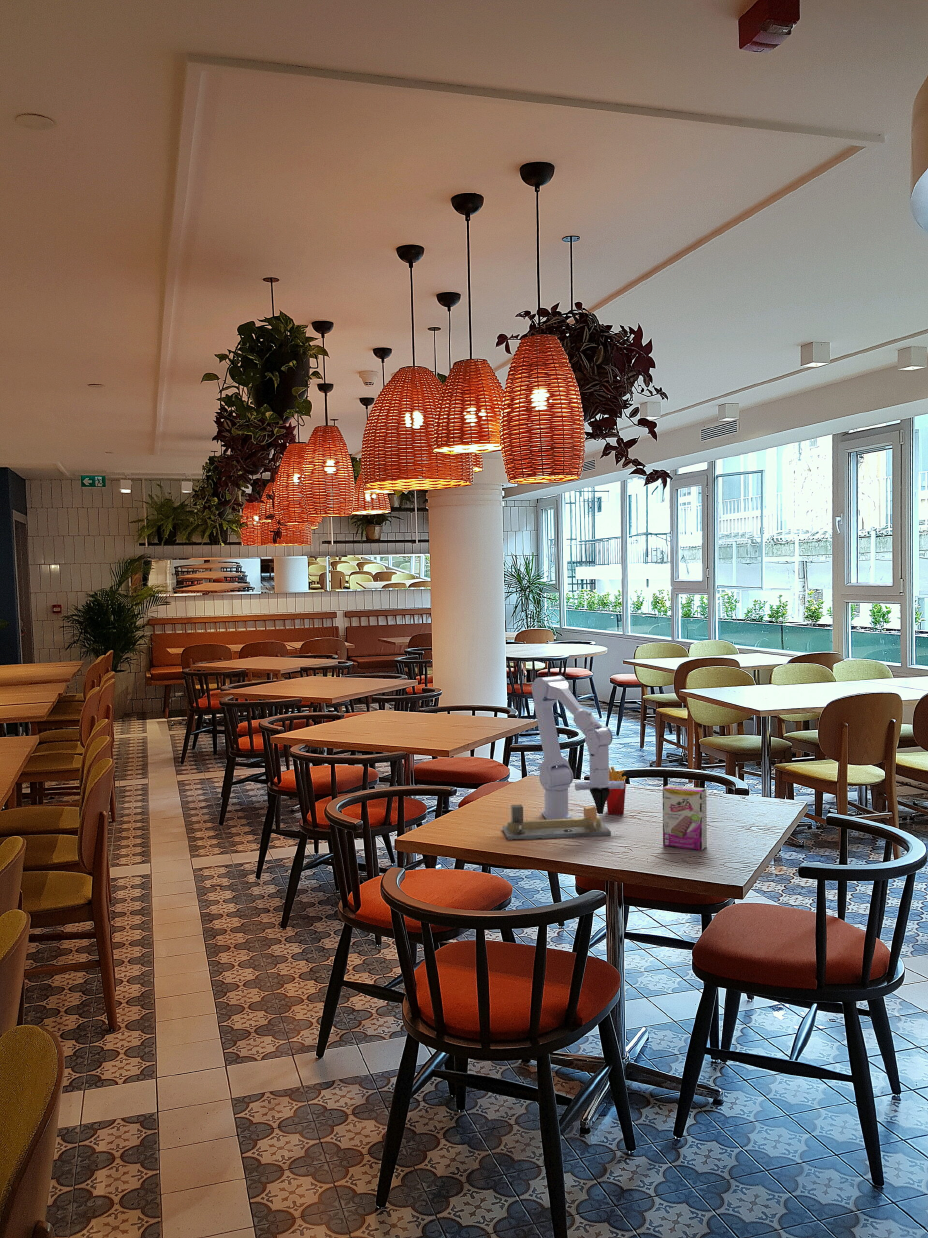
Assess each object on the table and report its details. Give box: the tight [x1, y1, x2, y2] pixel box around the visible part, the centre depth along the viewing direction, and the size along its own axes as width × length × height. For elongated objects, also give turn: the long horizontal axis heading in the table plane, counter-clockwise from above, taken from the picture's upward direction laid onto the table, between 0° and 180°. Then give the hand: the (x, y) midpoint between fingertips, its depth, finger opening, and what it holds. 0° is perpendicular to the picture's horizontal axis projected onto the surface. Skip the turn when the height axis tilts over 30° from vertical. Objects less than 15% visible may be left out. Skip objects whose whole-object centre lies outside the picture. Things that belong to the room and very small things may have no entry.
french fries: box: [606, 766, 627, 816], centre depth 301 cm, size 9×8×15 cm
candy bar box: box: [662, 784, 708, 851], centre depth 262 cm, size 11×5×16 cm, turn 59°
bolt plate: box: [502, 804, 612, 841], centre depth 280 cm, size 12×30×8 cm, turn 95°
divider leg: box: [583, 805, 598, 829], centre depth 281 cm, size 8×3×5 cm, turn 5°
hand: (600, 813), depth 284 cm, fingers closed
